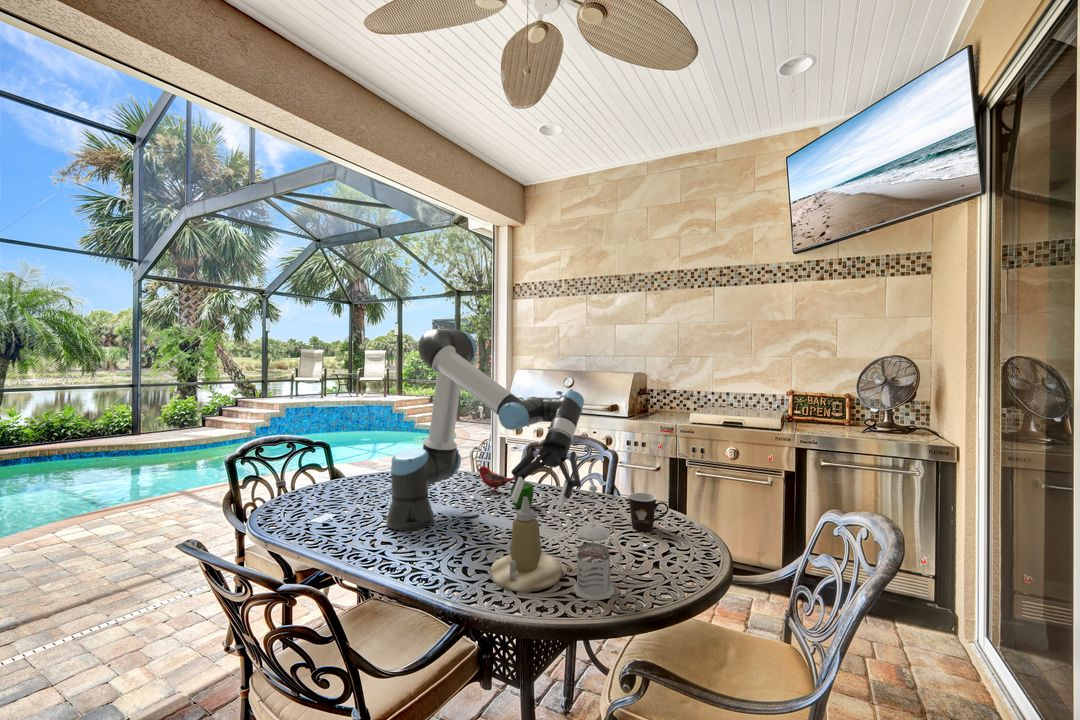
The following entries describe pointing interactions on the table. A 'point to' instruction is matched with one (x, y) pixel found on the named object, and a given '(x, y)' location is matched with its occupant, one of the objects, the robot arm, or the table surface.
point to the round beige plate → (526, 574)
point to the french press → (597, 581)
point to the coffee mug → (643, 511)
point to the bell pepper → (524, 494)
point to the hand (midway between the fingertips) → (536, 504)
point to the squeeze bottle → (525, 539)
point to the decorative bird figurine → (493, 478)
